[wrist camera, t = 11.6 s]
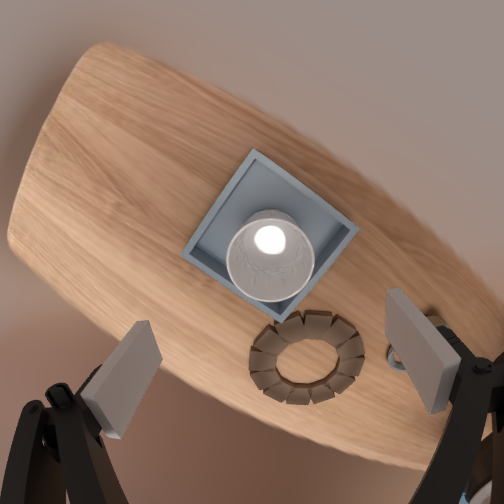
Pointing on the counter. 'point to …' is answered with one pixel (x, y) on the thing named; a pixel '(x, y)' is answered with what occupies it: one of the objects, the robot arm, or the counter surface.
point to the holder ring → (297, 330)
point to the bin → (259, 198)
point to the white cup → (270, 257)
